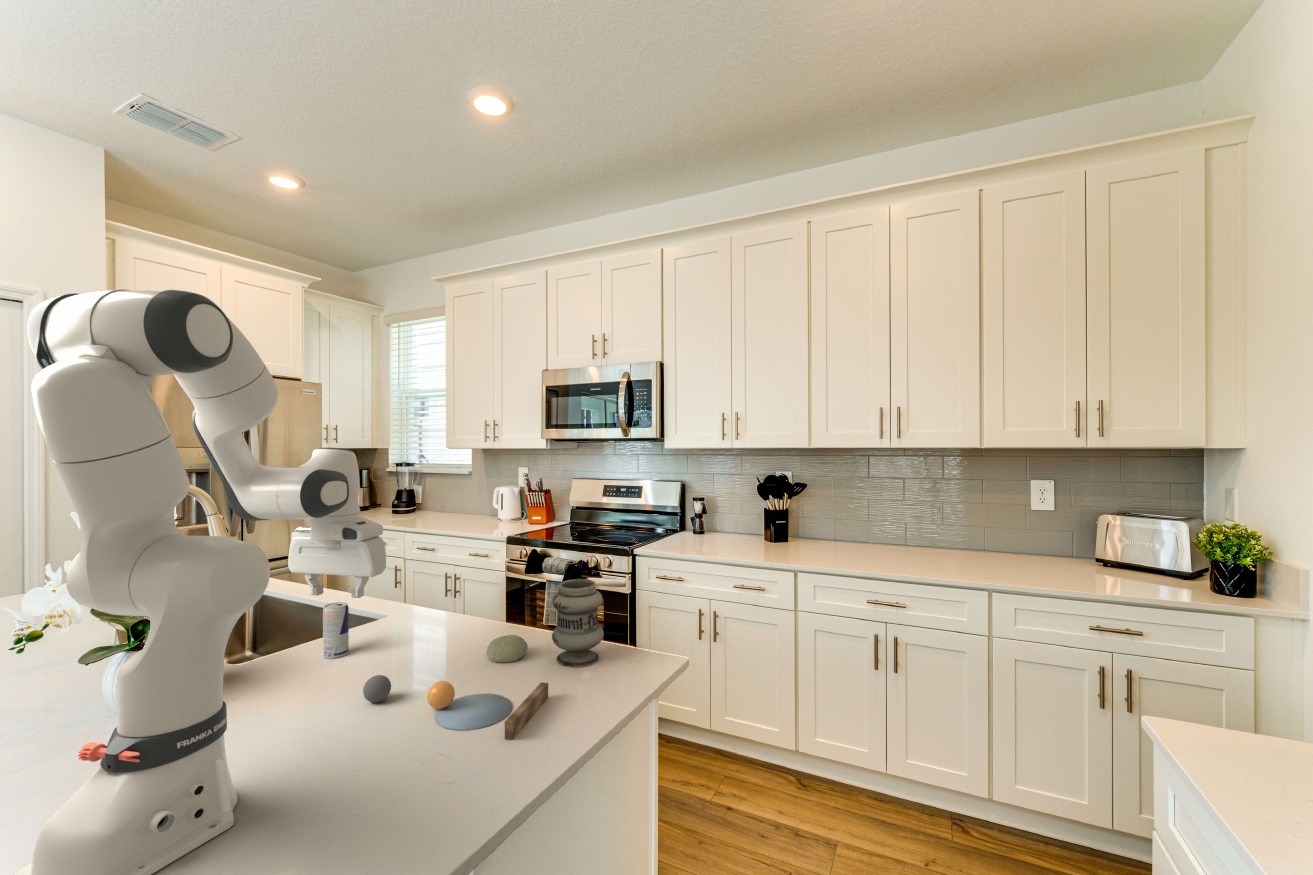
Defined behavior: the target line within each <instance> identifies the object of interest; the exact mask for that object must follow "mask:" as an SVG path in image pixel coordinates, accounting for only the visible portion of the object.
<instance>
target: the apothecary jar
mask: <svg viewBox="0 0 1313 875" xmlns="http://www.w3.org/2000/svg"><path fill="white" fill-rule="evenodd" d="M595 582H596V581H594V580H592V579H587V578H586V579H585V578H577V579H568V580H565V581H562V582H561V583H560V584H559V585H558V591H557V592H556V593H555V594H554V595H553V596H552V599H551V600H552V601H551V602H552V603H551V604H552V606H553V608H554V609H555V610H556V615H557V616H556V617H557V621H556V622H557V623H556V627H555V628H554V629H553V631H552V634H551V640H552V642H553V643H554V645H555V646H556V647H557V648H559V649H561V650H564V651H563V652H561V653H559V654H558V655H557V657H556V662H557V663H558V665H561V666H563V667H567V666H568V667H570V668H584V667H588V666H592V665H594V664H595V663H597V662H598V660H599V657H600V656H599V654H598V653H597V652H596V651H593V650H592V649H593V648H594V647H596V646H598V645H599V644H600V643H601V642H602V641H603V639H604V635H605V634H604V630H603V627H602V626H601V625H600V624H599V616H598V611H599V607H601V605H602V604H603V601H604V600H603V599H604V598H603V594H601V592H600V591H598V590H597V588H596V583H595Z"/></svg>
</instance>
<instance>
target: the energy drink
mask: <svg viewBox="0 0 1313 875" xmlns="http://www.w3.org/2000/svg"><path fill="white" fill-rule="evenodd" d="M349 608H350V607H349V604H348V603H347V602H346V601H338V602H331V603H327V604H325V605H323V609H322V656H323V658H324V657H325V658H324V659H326V658H335V659H338V658H337V657H340V658H342V657H341V656H343V657H345V656H347V654H349V649H350V648H349V646H350V645H349V643H350V642H349V641H350V639H349V638H350V637H349V635H350V633H349V632H350V631H349V629H350V628H349V627H350V626H349V620H350V619H349ZM344 655H345V656H344Z"/></svg>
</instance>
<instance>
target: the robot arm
mask: <svg viewBox="0 0 1313 875" xmlns="http://www.w3.org/2000/svg"><path fill="white" fill-rule="evenodd" d="M26 334H27V340H28V344H29V347H30V350H31V352H32V354H33V358H34V360H35V362H36V364H37V365H38V367H40V368H41V370H40V372H38V373H37V374H36V375H35V377H34V378H33V380H32V384H31V393H32V400H33V405H34V406H33V407H34V410H35V413H36V414H35V415H36V418H37V421H38V426H39V428H40V432H41V434H42V437H43V440H44V443H45V446H46V447H47V451H48V452H49V454H50V456H51V459H52V461H53V463H54V465H55V467H56V470H57V472H58V473H59V475H60V477H61V479H62V482H63V484H64V486H65V488H66V491H67V492H68V495H69V497H70V499H71V502H72V504H73V505H74V508H75V511H76V514H77V517H78V520H79V526H80V533H81V537H80V538H81V544H80V545H81V547H80V551H79V552H78V553H77V554H76V555H75V556H74V557H73V560H72V561H71V562H70V564H69V567H68V569H67V573H66V576H65V585H66V589H67V592H68V594H69V596H70V597H71V598H72V599H73V601H75V602H76V603H78V604H80V605H82V606H85V607H87V608H89V609H93V610H96V611H99V612H103V613H104V614H105V613H106V614H108V615H114V616H127V617H128V616H129V617H132V616H146V617H149V619H150V630H149V634H148V637H147V640H146V643H145V645H144V647H143V649H142V650H140V651H139V652H137V653H136V654H134V655H133V656H132V657H130V658H129V659H128V660H127V661H126V662H124V663H122V665H121V666H120V668H119V670H117V671H118V672H117V673H116V674H117V675H116V727H114V729H113V730H112V733H111V736H110V737H109V740H108V741H107V742H108V743H107V744H103V743H99V744H98V743H97V742H92V741H91V742H88V743H86V744H84V745H83V746H82V747H81V748H80V750H78V755H77V757H78V759H79V760H81V761H83V762H84V761H85V762H86V761H87V762H88V761H89V762H92V763H94V762H95V763H96V762H98V761H100V763H99V765H100V766H99V767H98V768H97V770H95V771H94V772H93V773H92V775H91V776H90V777H88V778H87V780H86V781H84V783H83V784H82V785H81V786H80V787H79V788H78V789H77V790H76V791H75V792H74V793H73V794H72V795H71V796H70V798H68V800H67V801H66V802H64V803H63V805H62V806H61V807H60V808H59V809H58V810H57V811H55V813H54V814H53V815H52V816H51V817H50V818H49V819H48V820H47V821H46V822H45V823H44V824H43V826H42V827H41V829H40V831H39V833H38V836H37V839H36V842H35V846H34V851H33V855H32V856H33V858H32V862H30V863H29V864H27V865H25V866H24V867H23V868H21V869H20V870H18V871H16V873H14V874H13V875H153V874H154V873H156V872H158V871H160V870H161V869H163V868H164V867H166V866H168V865H170V864H171V863H173V862H175V861H176V860H178V859H180V858H181V857H183V856H185V855H187V854H188V853H190V852H192V851H193V850H195V849H196V848H198V847H200V846H202V845H203V844H204V843H206V842H208V841H210V840H211V839H213V838H215V837H216V836H218V835H220V834H222V833H224V832H225V831H227V830H228V829H230V828H231V827H232V826H233V825H234V824H235V817H234V809H235V807H236V805H237V803H238V800H239V799H238V798H239V797H238V796H239V795H238V794H237V791H236V789H235V786H234V784H233V781H232V777H231V774H230V770H229V764H228V760H227V759H228V758H227V753H226V744H225V732H226V731H227V729H228V716H227V715H228V713H227V712H228V711H227V703H226V701H225V700H224V696H223V695H224V667H225V666H224V665H225V664H224V662H225V654H226V649H227V646H228V641H229V639H230V636H231V634H232V631H233V629H234V627H235V625H236V624H237V623H238V620H239V619H240V618H241V617H242V615H243V614H245V613H246V612H247V611H249V610H250V609H251V608H252V607H254V606H255V605H256V603H258V602H259V600H260V599H261V598H262V596H263V595H264V593H265V591H266V589H267V588H268V585H269V581H270V577H271V567H270V563H269V559H268V556H267V554H266V553H265V552H264V550H263V549H262V548H260V546H257V545H256V544H253V543H250V542H247V541H243V540H239V539H236V538H231V537H227V536H222V535H220V536H219V535H188V534H187V535H185V534H183V533H182V532H181V531H180V530H179V529H178V527H177V524H176V521H175V508H176V507H177V506H178V505H179V504H181V503H182V502H183V500H184V499H185V498H186V497H187V495H188V494H189V491H190V488H191V486H190V485H191V483H190V479H189V476H188V473H187V471H186V468H185V466H184V463H183V462H182V459H181V456H180V453H179V450H178V449H177V445H176V444H175V441H174V438H173V436H172V433H171V431H170V428H169V426H168V424H167V422H166V419H165V417H164V415H163V413H162V411H161V409H160V406H158V404H157V402H156V400H155V398H154V397H153V393H152V391H153V382H154V381H153V380H154V377H158V376H168V375H173V376H174V378H175V380H176V381H177V382H178V385H179V386H180V387H181V389H182V390H183V391H184V393H185V394H186V395H187V397H188V398H189V400H190V402H191V403H192V405H193V407H194V409H193V411H192V414H191V425H192V427H193V430H194V434H195V435H196V437H197V439H198V441H199V443H200V445H201V447H202V449H203V450H204V453H205V454H206V455H207V457H208V459H209V461H210V463H211V465H212V466H213V468H214V470H215V472H216V474H217V476H218V478H219V479H220V481H221V483H222V485H223V488H224V491H225V494H226V495H225V496H226V499H227V502H228V505H229V507H230V509H231V510H232V512H233V513H234V515H236V516H237V517H238V518H240V519H242V520H244V521H246V522H257V521H258V522H259V521H268V520H269V521H271V520H293V521H295V520H309V525H310V526H308V527H307V526H298V527H296V528H295V529H294V530H293V531H292V532H291V534H290V544H289V547H288V548H289V550H288V556H287V558H288V559H287V560H288V561H287V567H288V569H289V571H290V573H292V574H304V579H305V581H306V583H307V584H308V586H309V587H310V595H311V596H320V595H323V594H324V584H321V583H320V581H319V579H318V577H319V576H320V575H326V576H327V575H328V576H344V577H355V582H357V584H356V586H355V588H352V589H351V590H350V591H351V592H350V593H351V595H350V596H351V598H352V599H361V598H362V597H364V595H365V592H364V591H365V586H366V585H367V583H368V582H369V580H370V578H374V577H377V576H379V575H382V574H383V572H384V571H385V570H386V567H387V552H386V543H385V541H384V539H383V538H382V537H380V536H382V535H383V534H384V527H383V525H382V524H381V523H377V522H376V521H373V520H371V519H368V518H366V517H364V516H361V508H360V506H359V495H360V490H361V484H360V469H359V465H358V464H359V463H358V458H357V456H356V454H355V452H353V451H352V450H350V449H346V448H343V447H342V448H340V447H319V448H315V449H313V450H312V454H311V458H310V459H309V460H307V461H305V463H304V464H301V465H299V467H298V466H297V467H273V466H267V465H265V464H262V463H259V461H257V460H256V459H255V456H254V454H253V453H252V451H251V449H250V446H249V445H248V443H247V440H246V438H245V437H244V434H243V433H244V432H248V431H249V430H252V429H253V428H255V427H256V426H258V425H260V424H261V423H262V422H264V421H265V420H266V419H267V418H268V417H269V415H271V413H272V412H273V411H274V409H275V407H276V405H277V402H278V398H279V391H278V387H277V384H276V381H275V380H274V378H273V375H272V374H271V372H270V371H269V368H268V367H267V365H266V364H265V362H264V361H263V360H262V357H261V356H260V355H259V353H258V352H257V351H256V349H255V347H254V346H253V345H252V344H251V342H250V341H249V339H248V338H247V337H246V336H245V335H244V333H243V332H242V331H241V330H240V329H239V328H238V326H236V325H235V323H233V321H231V319H230V318H229V317H228V316H227V315H226V314H225V312H224V311H223V310H222V309H221V308H220V307H219V306H218V305H217V304H216V303H215V302H214V301H213V300H211V299H210V298H208V297H206V296H204V295H202V294H200V293H196V292H192V291H186V290H180V289H179V290H177V289H167V290H160V291H159V290H137V289H136V290H135V289H134V290H131V289H109V290H106V289H105V290H101V291H92V292H85V293H78V292H77V293H75V292H74V293H67V294H62V295H59V296H56V297H52V298H50V299H45V300H44V301H43V302H40V303H38V304H37V305H36V306H34V308H32V310H31V311H30V314H29V316H28V319H27V326H26Z"/></svg>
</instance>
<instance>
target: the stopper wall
mask: <svg viewBox="0 0 1313 875" xmlns="http://www.w3.org/2000/svg"><path fill="white" fill-rule="evenodd" d="M548 699H549V682H545V681H544V682H543V681H542V682H540V683H539V684H538V685H537V686H536V687H535V688H534V690H533V691H532V692H530V694H528V696H527V697H526V698H525V699H524V700H523V701H522V703H521V704H519V706H518V707H517V708H516V709H515V710H514V711H513V712H512V713H511V714H509V717H507V719H506V720H505V721H504V740H510V741H513V740H514V739H515V737H517V735H518V734H519V733H520V732H521V731H522V730H523V728H524V727H525V726H526V725H527V724H528V723H529V721H530V720H531V719H532V717H533V716H534V715H535V714H536V713H537V712H538V711H539V709H540V708H541V707H542V706H543V705H544V704H545V702H546V701H547V700H548Z"/></svg>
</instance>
